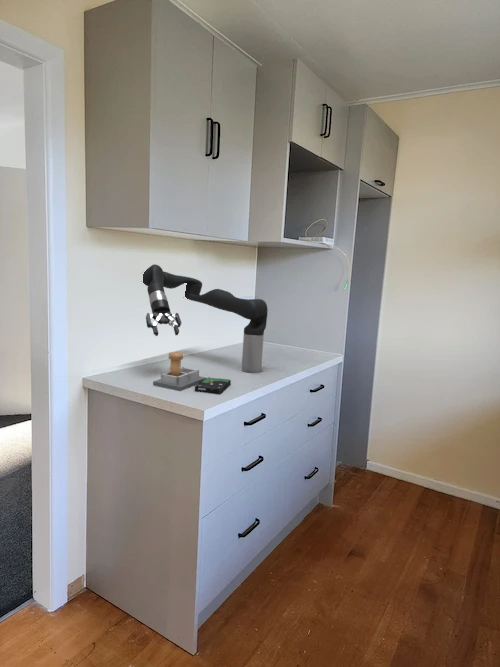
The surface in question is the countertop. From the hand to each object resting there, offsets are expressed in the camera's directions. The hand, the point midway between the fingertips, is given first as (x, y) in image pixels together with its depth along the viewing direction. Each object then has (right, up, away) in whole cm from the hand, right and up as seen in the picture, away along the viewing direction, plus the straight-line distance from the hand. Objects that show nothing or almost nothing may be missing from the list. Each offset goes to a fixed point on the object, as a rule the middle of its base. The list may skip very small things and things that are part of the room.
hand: (167, 334), depth 182 cm
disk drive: (+20, -22, -8) cm, 30 cm away
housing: (+6, -19, -4) cm, 21 cm away
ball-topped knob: (+4, -18, -6) cm, 20 cm away
